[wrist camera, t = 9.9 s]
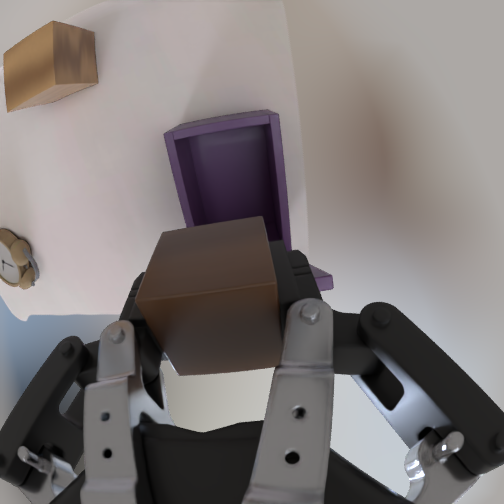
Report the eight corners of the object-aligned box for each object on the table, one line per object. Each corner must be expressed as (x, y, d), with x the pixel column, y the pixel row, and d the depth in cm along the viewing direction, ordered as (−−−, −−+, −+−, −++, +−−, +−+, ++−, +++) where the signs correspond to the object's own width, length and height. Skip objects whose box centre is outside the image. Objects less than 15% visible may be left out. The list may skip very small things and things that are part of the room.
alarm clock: (-20, 230, 31) (20, 253, 31) (-3, 219, 35) (39, 239, 36) (-7, 277, 36) (34, 304, 37) (7, 264, 41) (49, 288, 41)
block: (161, 231, 10) (132, 300, 7) (262, 214, 10) (277, 281, 7) (188, 305, 13) (178, 376, 9) (272, 294, 12) (285, 366, 9)
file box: (179, 124, 30) (163, 133, 23) (268, 109, 30) (278, 113, 23) (205, 234, 38) (199, 270, 31) (281, 223, 38) (292, 256, 31)
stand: (48, 54, 21) (3, 53, 13) (94, 31, 21) (52, 20, 13) (52, 102, 25) (7, 113, 17) (98, 83, 25) (55, 84, 17)
